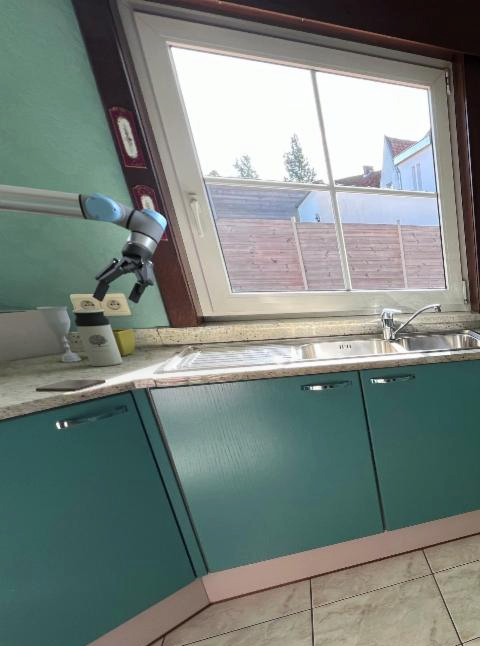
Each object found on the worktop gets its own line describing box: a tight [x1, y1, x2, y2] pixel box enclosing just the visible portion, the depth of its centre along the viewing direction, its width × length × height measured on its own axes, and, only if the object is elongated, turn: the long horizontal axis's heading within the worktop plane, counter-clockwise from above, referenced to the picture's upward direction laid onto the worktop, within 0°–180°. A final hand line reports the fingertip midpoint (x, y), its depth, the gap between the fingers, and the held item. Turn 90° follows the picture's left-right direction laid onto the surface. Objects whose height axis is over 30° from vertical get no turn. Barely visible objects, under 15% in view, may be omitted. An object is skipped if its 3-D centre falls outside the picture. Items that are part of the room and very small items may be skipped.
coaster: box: [35, 379, 106, 392], centre depth 141 cm, size 10×10×1 cm
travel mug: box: [71, 308, 123, 367], centre depth 164 cm, size 8×8×18 cm
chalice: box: [36, 305, 83, 363], centre depth 168 cm, size 7×7×18 cm
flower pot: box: [111, 328, 136, 357], centre depth 179 cm, size 9×9×9 cm
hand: (114, 300), depth 168 cm, fingers open, 13 cm apart
